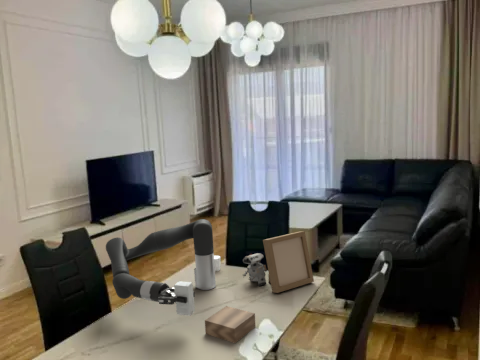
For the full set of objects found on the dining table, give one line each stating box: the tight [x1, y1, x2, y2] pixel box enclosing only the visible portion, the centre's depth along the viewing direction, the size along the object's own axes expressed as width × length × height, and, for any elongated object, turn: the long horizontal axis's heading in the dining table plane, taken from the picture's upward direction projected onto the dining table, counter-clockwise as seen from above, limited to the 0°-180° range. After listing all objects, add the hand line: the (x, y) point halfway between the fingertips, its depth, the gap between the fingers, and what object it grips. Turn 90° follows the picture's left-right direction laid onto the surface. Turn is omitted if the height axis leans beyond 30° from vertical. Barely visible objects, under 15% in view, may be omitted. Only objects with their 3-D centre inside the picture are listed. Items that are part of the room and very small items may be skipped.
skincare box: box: [173, 280, 196, 316], centre depth 169 cm, size 6×4×12 cm
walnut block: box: [204, 305, 256, 344], centre depth 171 cm, size 14×14×6 cm
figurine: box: [242, 252, 268, 287], centre depth 215 cm, size 9×12×15 cm
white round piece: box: [214, 254, 222, 272], centre depth 238 cm, size 7×7×7 cm
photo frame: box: [262, 230, 315, 294], centre depth 212 cm, size 15×22×25 cm
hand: (190, 297), depth 167 cm, fingers closed on skincare box, 4 cm apart
